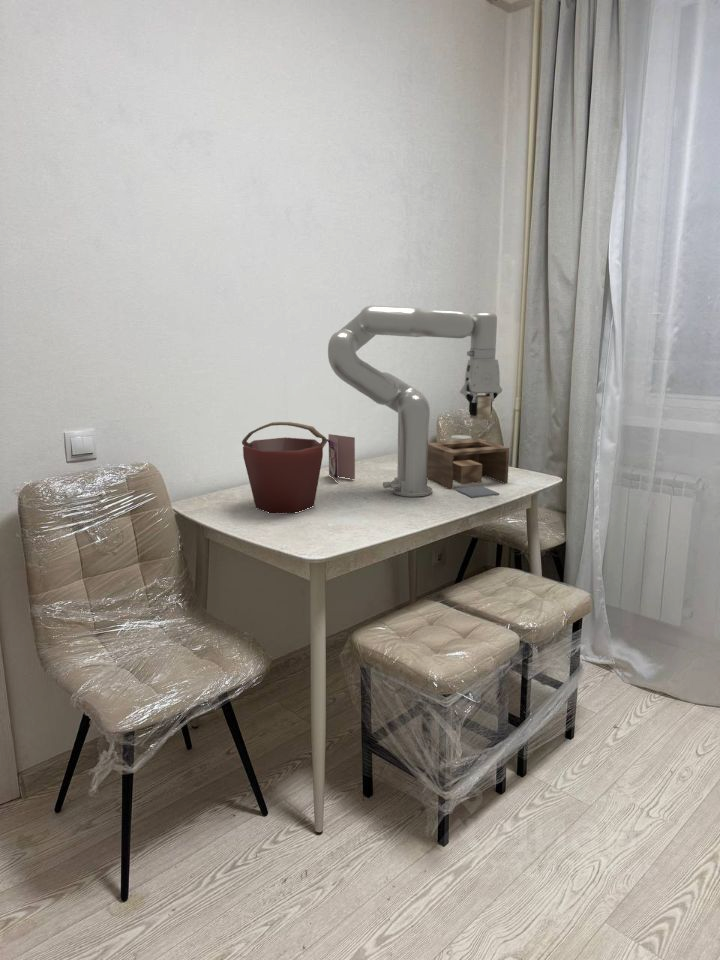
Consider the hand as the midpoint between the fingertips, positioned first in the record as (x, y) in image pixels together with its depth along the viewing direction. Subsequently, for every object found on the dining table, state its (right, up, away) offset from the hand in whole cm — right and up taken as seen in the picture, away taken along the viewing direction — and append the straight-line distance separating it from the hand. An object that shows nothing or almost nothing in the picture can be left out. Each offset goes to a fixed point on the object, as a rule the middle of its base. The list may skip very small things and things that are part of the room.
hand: (480, 414), depth 206 cm
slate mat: (0, -24, +6) cm, 25 cm away
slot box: (-1, -20, +22) cm, 30 cm away
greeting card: (-44, -20, +24) cm, 54 cm away
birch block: (0, -1, 0) cm, 1 cm away
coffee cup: (0, -16, +39) cm, 42 cm away
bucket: (-59, -28, -9) cm, 66 cm away
